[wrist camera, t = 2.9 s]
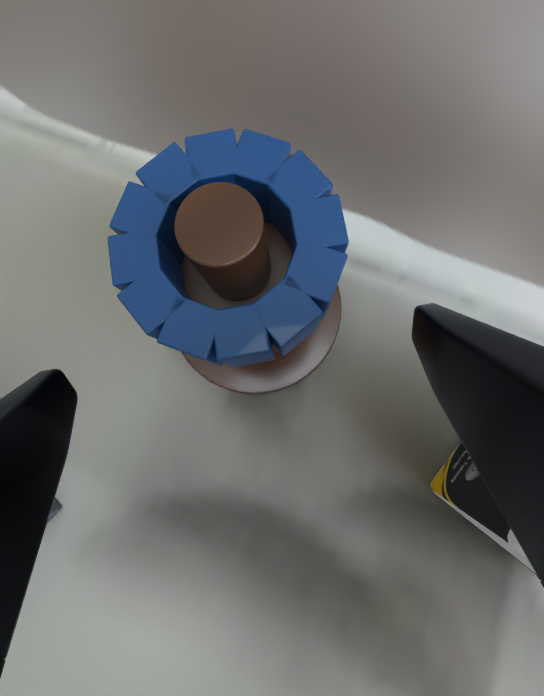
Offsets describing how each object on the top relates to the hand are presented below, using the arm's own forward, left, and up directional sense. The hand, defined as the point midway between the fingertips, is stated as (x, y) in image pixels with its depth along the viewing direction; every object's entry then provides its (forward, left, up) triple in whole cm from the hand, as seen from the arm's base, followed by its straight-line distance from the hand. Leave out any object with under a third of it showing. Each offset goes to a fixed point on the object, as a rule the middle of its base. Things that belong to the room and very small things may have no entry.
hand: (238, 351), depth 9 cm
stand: (+3, -2, -10) cm, 11 cm away
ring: (+3, -2, -3) cm, 5 cm away
